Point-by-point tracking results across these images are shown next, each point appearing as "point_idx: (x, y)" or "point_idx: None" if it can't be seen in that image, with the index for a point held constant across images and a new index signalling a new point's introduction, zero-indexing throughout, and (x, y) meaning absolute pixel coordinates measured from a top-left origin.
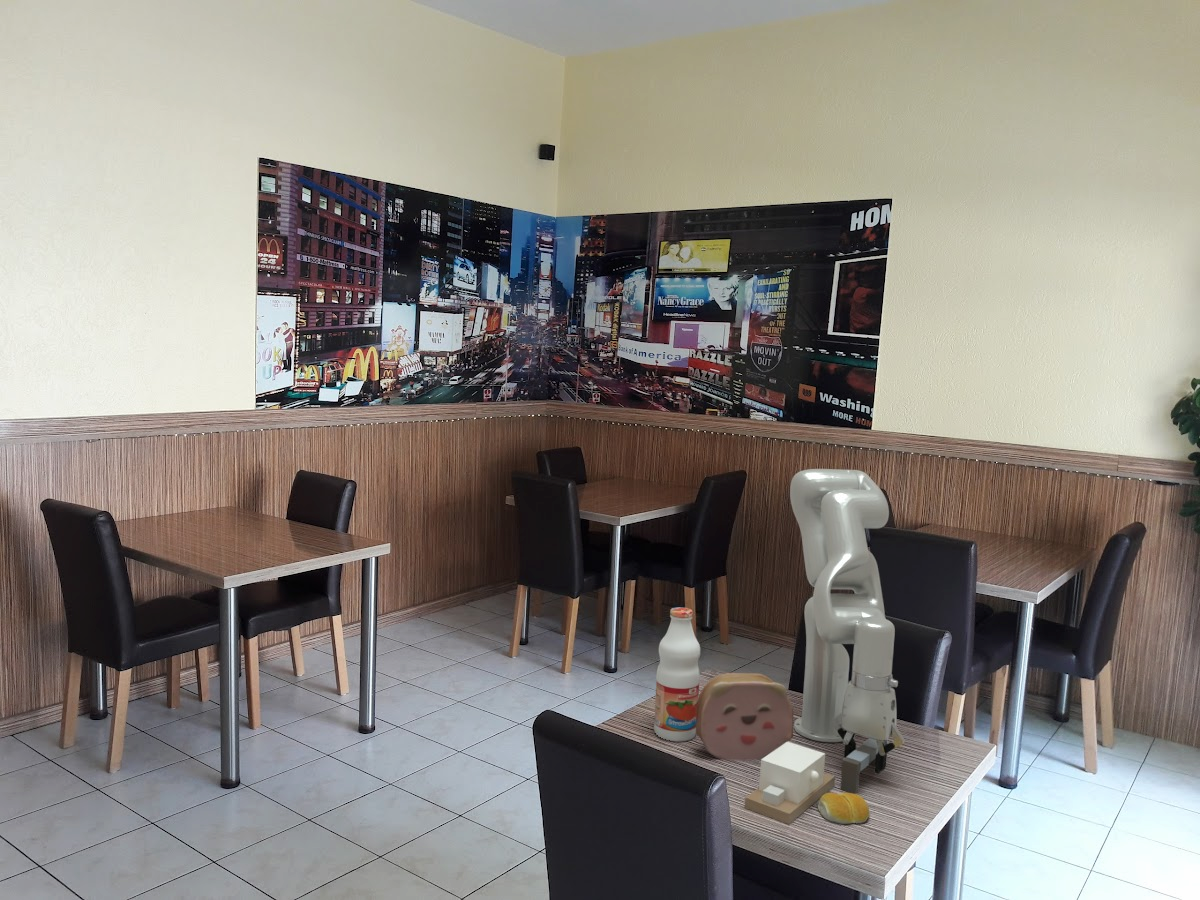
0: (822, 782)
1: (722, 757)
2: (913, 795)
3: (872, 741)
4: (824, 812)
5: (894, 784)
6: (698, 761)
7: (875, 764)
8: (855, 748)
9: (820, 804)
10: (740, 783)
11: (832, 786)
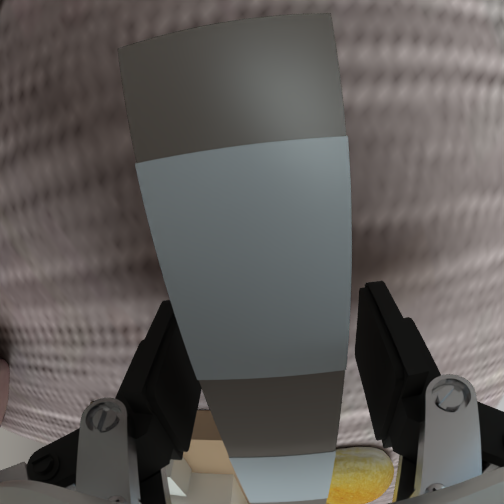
0: (234, 480)
1: (3, 415)
2: (495, 272)
3: (225, 251)
4: None
5: (420, 239)
6: (10, 431)
7: (366, 391)
8: (167, 360)
9: None
10: None
11: None
